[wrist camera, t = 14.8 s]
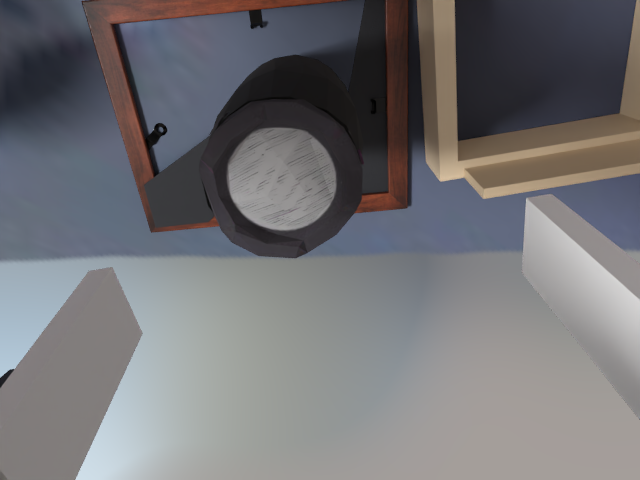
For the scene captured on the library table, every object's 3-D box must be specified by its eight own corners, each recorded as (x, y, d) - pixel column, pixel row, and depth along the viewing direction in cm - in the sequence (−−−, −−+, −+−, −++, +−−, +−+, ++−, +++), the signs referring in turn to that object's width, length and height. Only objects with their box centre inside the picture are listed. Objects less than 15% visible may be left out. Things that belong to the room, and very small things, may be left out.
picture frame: (156, 224, 46) (403, 201, 45) (150, 233, 44) (408, 209, 44) (90, 0, 36) (403, -31, 36) (79, 1, 34) (409, -33, 34)
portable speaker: (358, 66, 37) (405, 119, 20) (323, 171, 41) (335, 291, 24) (257, 31, 36) (211, 55, 18) (230, 143, 40) (171, 249, 22)
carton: (425, 162, 42) (456, 203, 34) (412, -84, 33) (449, -111, 25) (633, 126, 41) (718, 160, 33) (677, -136, 32) (808, -182, 24)
